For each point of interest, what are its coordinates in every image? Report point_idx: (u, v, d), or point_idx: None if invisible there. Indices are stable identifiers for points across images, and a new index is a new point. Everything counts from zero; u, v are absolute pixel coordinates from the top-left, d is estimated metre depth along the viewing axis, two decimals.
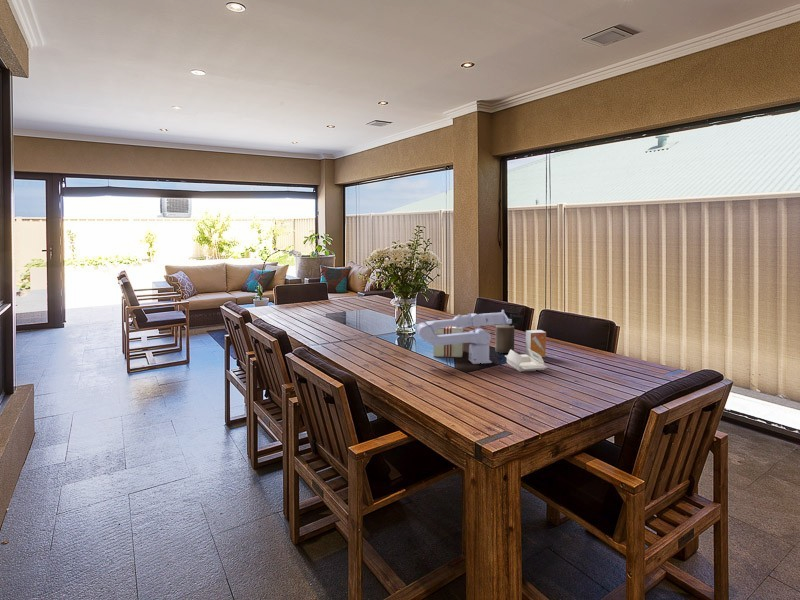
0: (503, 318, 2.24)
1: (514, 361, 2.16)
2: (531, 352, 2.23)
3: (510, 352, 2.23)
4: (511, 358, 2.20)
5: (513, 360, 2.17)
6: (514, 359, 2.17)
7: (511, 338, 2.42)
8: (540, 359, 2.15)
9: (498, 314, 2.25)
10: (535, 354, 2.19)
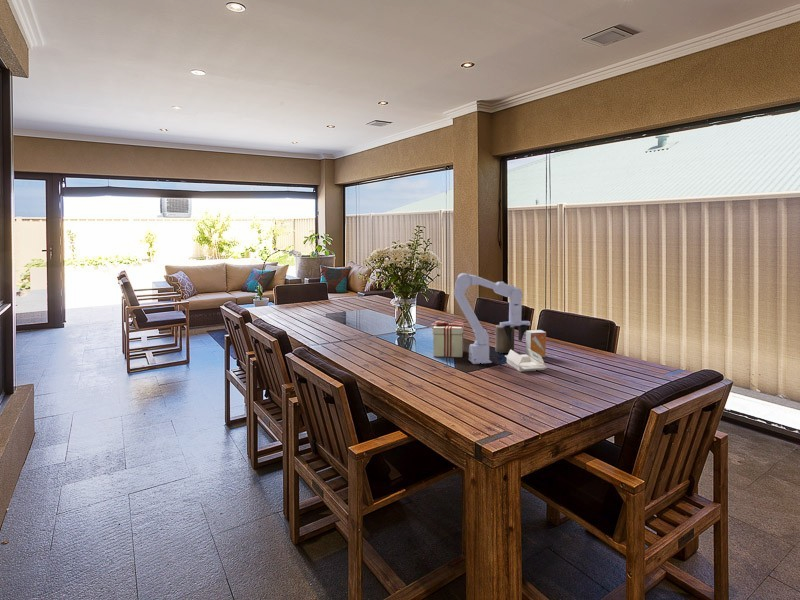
0: (509, 321, 2.23)
1: (514, 361, 2.16)
2: (531, 352, 2.23)
3: (510, 352, 2.23)
4: (511, 358, 2.20)
5: (513, 360, 2.17)
6: (514, 359, 2.17)
7: (511, 338, 2.42)
8: (540, 359, 2.15)
9: (514, 317, 2.21)
10: (535, 354, 2.19)
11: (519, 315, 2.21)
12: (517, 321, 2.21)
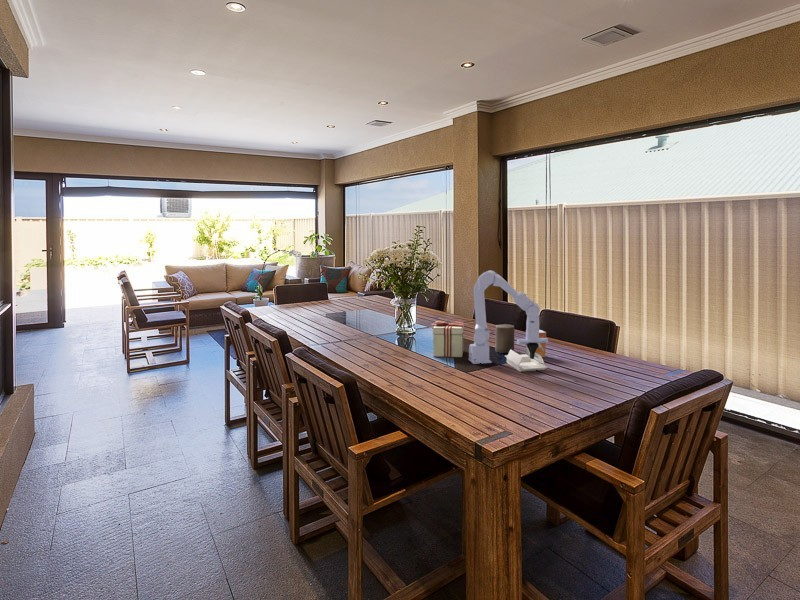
0: (527, 338, 2.17)
1: (514, 361, 2.16)
2: None
3: (510, 352, 2.23)
4: (511, 358, 2.20)
5: (513, 360, 2.17)
6: (514, 359, 2.17)
7: (511, 338, 2.42)
8: (540, 359, 2.15)
9: (531, 335, 2.15)
10: (535, 354, 2.19)
11: (537, 332, 2.15)
12: (535, 338, 2.15)
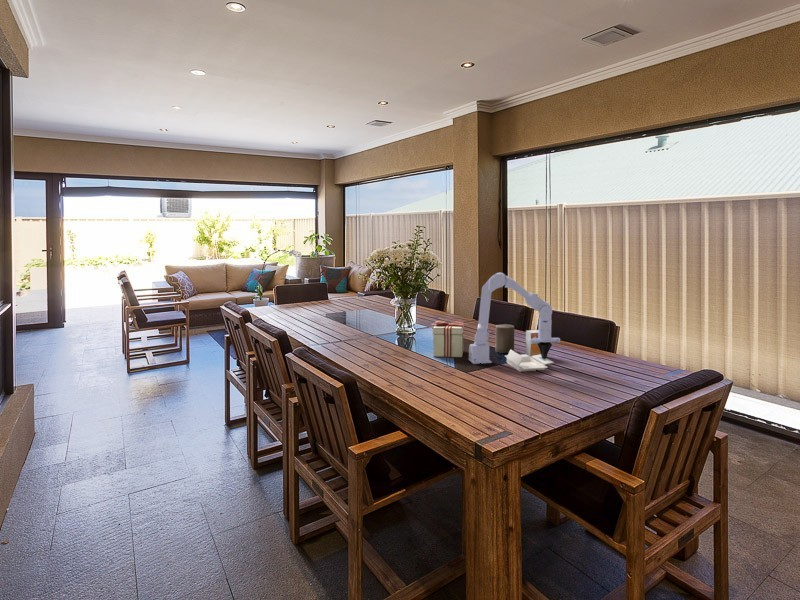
0: (539, 338, 2.18)
1: (514, 361, 2.16)
2: (540, 356, 2.24)
3: (510, 352, 2.23)
4: (511, 358, 2.20)
5: (513, 360, 2.17)
6: (514, 359, 2.17)
7: (511, 338, 2.42)
8: (546, 361, 2.16)
9: (543, 334, 2.16)
10: (545, 359, 2.20)
11: (549, 332, 2.16)
12: (547, 338, 2.16)
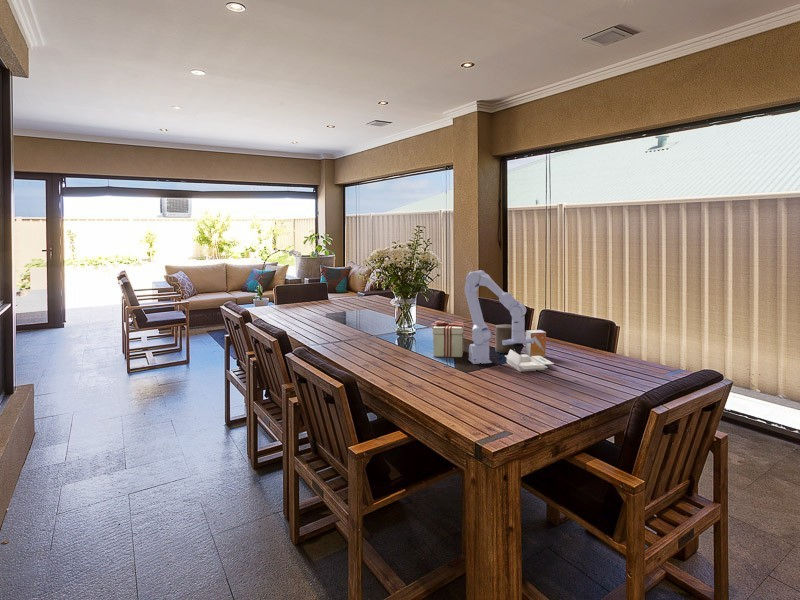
0: (512, 339, 2.16)
1: (514, 361, 2.16)
2: (540, 357, 2.24)
3: (510, 352, 2.23)
4: (511, 358, 2.20)
5: (513, 360, 2.17)
6: (514, 359, 2.17)
7: (511, 338, 2.42)
8: (546, 362, 2.16)
9: (517, 335, 2.14)
10: (545, 360, 2.20)
11: (522, 333, 2.14)
12: (520, 339, 2.14)
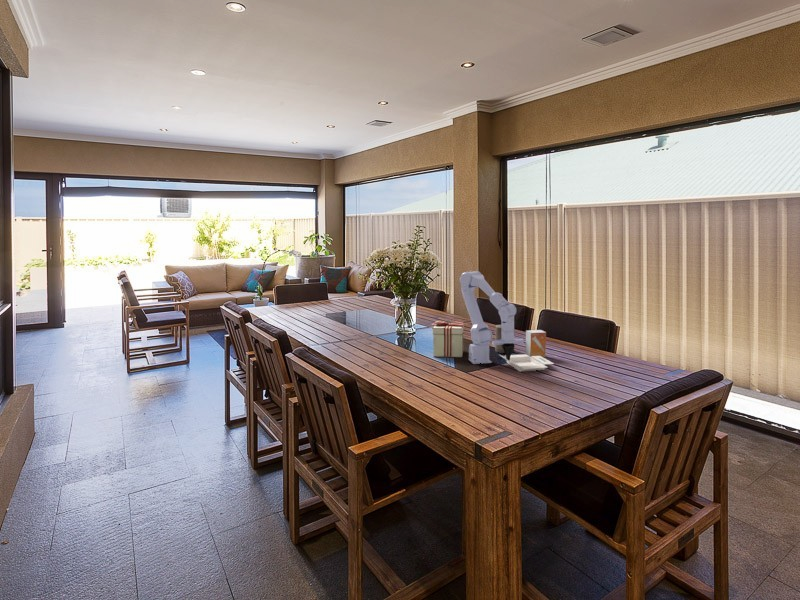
0: (502, 339, 2.15)
1: (512, 362, 2.16)
2: (540, 357, 2.24)
3: (502, 356, 2.23)
4: None
5: (511, 361, 2.17)
6: (510, 361, 2.17)
7: None
8: (546, 362, 2.16)
9: (506, 336, 2.13)
10: (545, 360, 2.20)
11: (512, 333, 2.13)
12: (510, 339, 2.13)
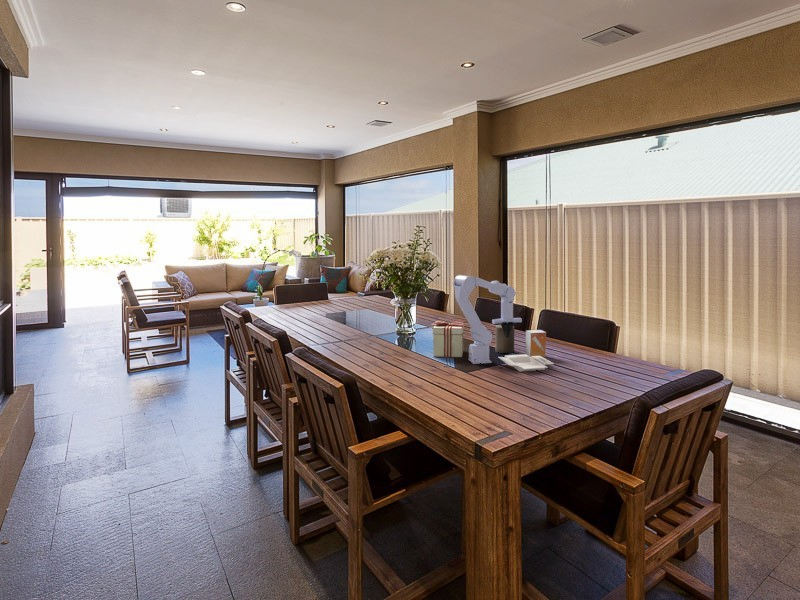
0: (502, 318, 2.31)
1: None
2: (540, 357, 2.24)
3: None
4: None
5: None
6: None
7: (511, 338, 2.42)
8: (546, 362, 2.16)
9: (505, 315, 2.29)
10: (545, 360, 2.20)
11: (511, 312, 2.29)
12: (509, 318, 2.29)
